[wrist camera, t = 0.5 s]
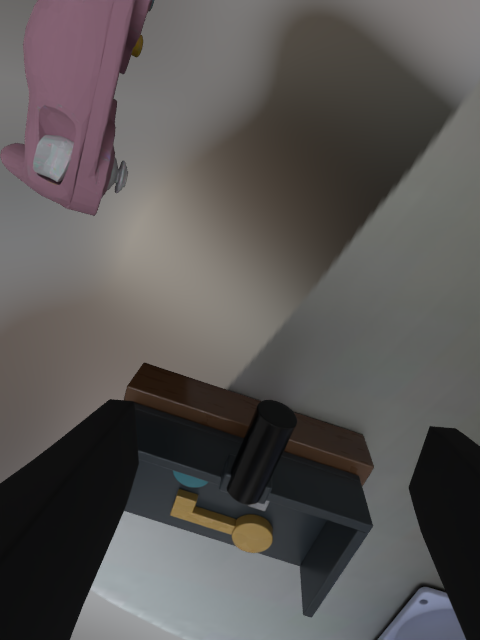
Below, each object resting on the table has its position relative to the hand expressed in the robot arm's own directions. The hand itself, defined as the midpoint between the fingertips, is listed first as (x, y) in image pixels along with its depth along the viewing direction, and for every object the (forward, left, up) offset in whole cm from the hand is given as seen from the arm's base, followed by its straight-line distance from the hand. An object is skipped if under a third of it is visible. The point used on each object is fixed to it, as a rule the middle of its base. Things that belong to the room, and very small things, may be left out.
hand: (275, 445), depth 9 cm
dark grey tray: (-7, -1, -7) cm, 11 cm away
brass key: (-11, -1, -7) cm, 14 cm away
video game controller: (+7, +10, -10) cm, 16 cm away
